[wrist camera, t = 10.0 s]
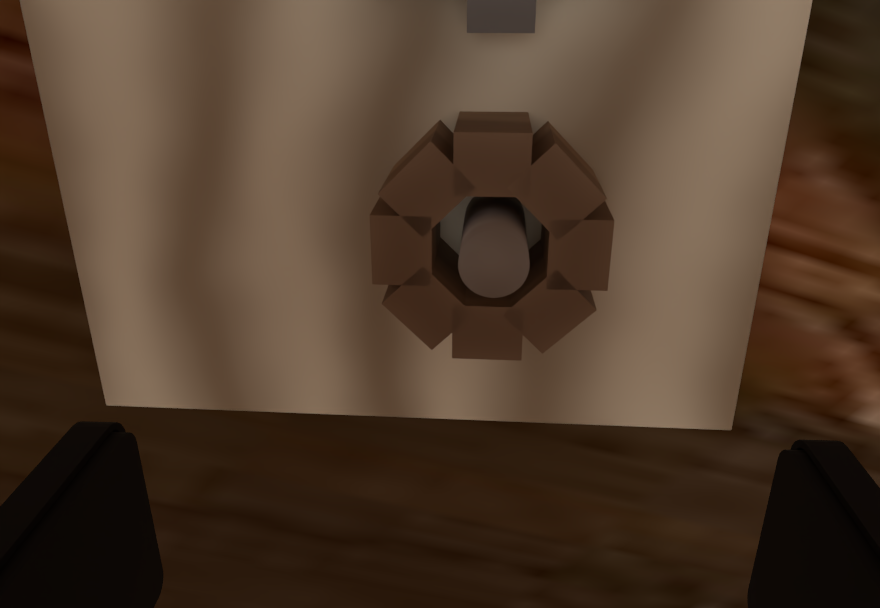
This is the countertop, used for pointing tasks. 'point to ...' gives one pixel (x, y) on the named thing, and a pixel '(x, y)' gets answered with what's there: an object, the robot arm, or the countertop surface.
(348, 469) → the countertop surface
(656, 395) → the gear board
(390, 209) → the walnut gear
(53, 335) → the countertop surface
